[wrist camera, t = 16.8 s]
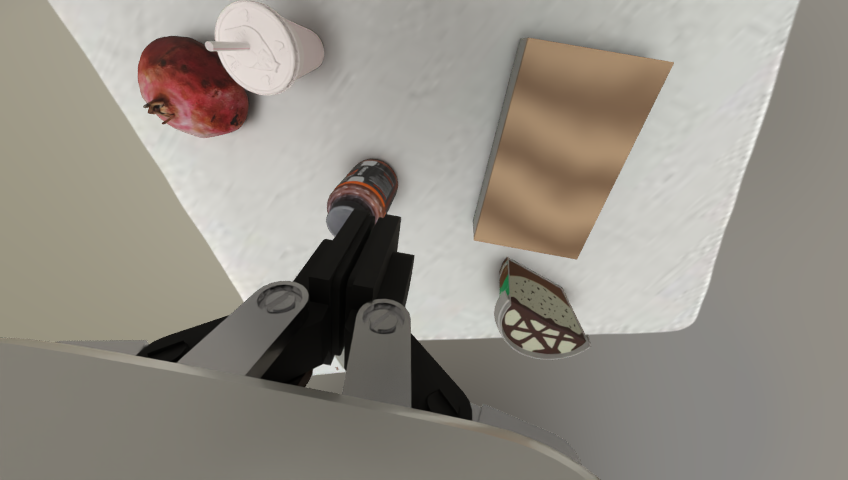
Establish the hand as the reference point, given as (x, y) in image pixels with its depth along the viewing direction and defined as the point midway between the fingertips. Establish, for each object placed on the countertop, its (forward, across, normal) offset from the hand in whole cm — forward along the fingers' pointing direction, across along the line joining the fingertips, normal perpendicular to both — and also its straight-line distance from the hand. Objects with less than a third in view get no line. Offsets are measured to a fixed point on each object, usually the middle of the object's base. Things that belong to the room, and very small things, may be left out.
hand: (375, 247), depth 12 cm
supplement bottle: (+27, +6, +9) cm, 29 cm away
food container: (+27, -16, +21) cm, 38 cm away
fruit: (+27, +24, +1) cm, 36 cm away
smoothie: (+27, +14, -4) cm, 31 cm away
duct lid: (+23, -13, +2) cm, 27 cm away
